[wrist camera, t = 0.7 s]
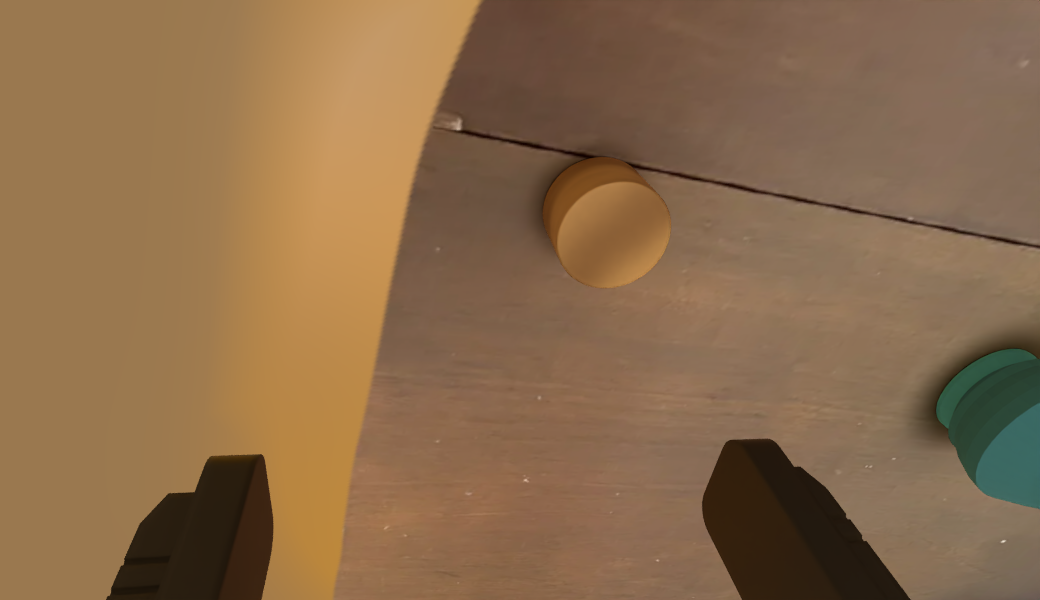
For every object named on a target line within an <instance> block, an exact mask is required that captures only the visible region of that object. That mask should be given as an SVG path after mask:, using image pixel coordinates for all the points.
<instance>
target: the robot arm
mask: <svg viewBox="0 0 1040 600" xmlns="http://www.w3.org/2000/svg"><path fill="white" fill-rule="evenodd" d="M702 511H703V518H704V522H705V525H706V528H707V530H708V533H709V535H710V536H711V538H712V540H713V542H714V544H715V546H716V548H717V550H718V552H719V554H720V556H721V558H722V560H723V562H724V564H725V566H726V568H727V570H728V572H729V574H730V576H731V578H732V580H733V582H734V584H735V586H736V588H737V590H738V592H739V594H740V596H741V598H742V600H910V598H909V597H908V596H907V594H906V593H905V592H904V590H903V589H902V588H901V586H900V585H899V584H898V582H897V581H896V580H895V578H894V577H893V576H892V574H891V573H890V572H889V570H888V569H887V568H886V566H885V565H884V564H883V562H882V561H881V560H880V558H879V557H878V556H877V554H876V553H875V552H874V550H873V549H872V548H871V546H870V545H869V544H868V542H867V541H863V540H862V535H861V533H860V532H859V531H858V529H857V528H856V527H855V525H854V524H853V523H852V521H851V520H850V519H847V518H846V513H845V512H844V511H843V509H842V508H841V507H840V505H839V504H838V503H837V501H836V500H835V499H834V497H833V496H832V495H831V493H830V492H829V491H828V489H827V488H826V487H824V486H823V485H822V484H821V483H820V482H818V481H817V480H816V479H815V478H813V477H812V476H811V475H810V474H809V473H807V472H806V471H805V470H804V469H802V468H801V467H794V466H793V465H792V463H791V462H790V461H789V459H788V458H787V456H786V455H785V454H784V452H783V451H782V450H781V448H780V447H779V446H778V444H777V443H775V442H774V441H773V440H771V439H743V440H729V441H728V442H726V443H725V445H724V447H723V449H722V451H721V454H720V456H719V458H718V461H717V463H716V466H715V468H714V471H713V473H712V476H711V478H710V480H709V483H708V485H707V488H706V490H705V493H704V496H703V501H702ZM272 542H273V514H272V507H271V500H270V493H269V486H268V479H267V472H266V465H265V460H264V457H263V455H261V454H260V455H229V456H211V457H210V458H209V459H208V460H207V462H206V464H205V466H204V469H203V471H202V474H201V477H200V479H199V482H198V485H197V487H196V490H195V492H193V493H172V494H171V493H169V494H168V495H167V496H166V497H165V498H164V499H163V500H162V501H161V502H160V503H159V504H158V505H157V506H156V507H155V508H154V509H153V510H152V512H151V513H150V514H149V515H148V516H147V517H146V518H145V519H144V520H143V521H142V522H141V523H140V525H139V527H138V529H137V531H136V534H135V536H134V538H133V540H132V543H131V545H130V547H129V549H128V552H127V554H126V556H125V558H124V560H125V561H124V565H123V566H121V567H120V570H119V572H118V574H117V576H116V579H115V581H114V583H113V586H112V588H111V594H110V596H108V597H107V599H106V600H261V599H262V594H263V589H264V585H265V580H266V575H267V571H268V566H269V561H270V556H271V550H272Z"/></svg>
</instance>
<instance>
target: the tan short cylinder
mask: <svg viewBox="0 0 1040 600" xmlns="http://www.w3.org/2000/svg"><path fill="white" fill-rule="evenodd" d="M543 222H544V227H545V229H546V232H547V234H548V236H549V239H550V241H551V243H552V245H553V247H554V249H555V251H556V254H557V256H558V258H559V260H560V262H561V264H562V266H563V268H564V269H565V270H566V272H567V273H568V274H569V275H570V276H571V277H573V278H574V279H575V280H577V281H579V282H581V283H583V284H585V285H588V286H591V287H596V288H613V287H619V286H622V285H626V284H628V283H631V282H633V281H635V280H637V279H639V278H640V277H642V276H643V275H645V274H646V273H647V272H648V271H649V270H651V269H652V268H653V267H654V266H655V264H656V263H657V262H658V261H659V259H660V258H661V256H662V255H663V253H664V251H665V249H666V247H667V244H668V241H669V238H670V233H671V219H670V214H669V211H668V208H667V206H666V204H665V202H664V201H663V199H662V198H661V197H660V196H659V195H658V193H657V192H656V191H655V190H654V189H653V188H652V187H651V186H650V185H649V184H648V183H647V182H646V181H645V180H644V179H643V178H642V177H641V176H640V174H639V173H638V172H637V171H636V170H635V169H634V168H632V167H631V166H630V165H628V164H627V163H625V162H623V161H621V160H618V159H615V158H610V157H595V158H589V159H586V160H583V161H580V162H578V163H576V164H574V165H572V166H570V167H569V168H568V169H566V170H565V171H564V172H563V173H561V174H560V175H559V176H558V177H557V179H556V180H555V181H554V182H553V184H552V185H551V187H550V189H549V191H548V193H547V195H546V198H545V201H544V206H543Z"/></svg>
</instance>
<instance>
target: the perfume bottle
mask: <svg viewBox="0 0 1040 600" xmlns="http://www.w3.org/2000/svg"><path fill="white" fill-rule="evenodd" d="M936 414H937V418H938V420H939V421H940V422H941V423H942V424H943V425H944V426H945V427H946V428H948V434H949V439H950V441H951V443H952V444H953V445H954V446H955V447H956V450H957V454H958V457H959V459H960V461H961V463H962V465H963V467H964V469H965V471H966V472H967V474H968V476H969V478H970V479H971V480H972V481H973V482H974V483H975V485H976V486H977V487H978V488H979V489H980V490H981V491H982V492H983V493H984V494H986V495H988V496H991V497H994V498H997V499H1001V500H1005V501H1008V502H1012V503H1016V504H1020V505H1024V506H1028V507H1033V508H1038V509H1040V359H1037V358H1036V357H1035V356H1034V355H1033V354H1031V353H1029V352H1028V351H1026V350H1022V349H1006V350H1001V351H997V352H994V353H991V354H989V355H986V356H984V357H982V358H980V359H978V360H977V361H975V362H973V363H972V364H970V365H969V366H967V367H966V368H965V369H963V370H962V371H961V372H959V373H958V374H957V375H956V376H955V377H954V378H953V379H952V380H951V381H950V382H949V384H948V385H947V386H946V387H945V389H944V390H943V392H942V394H941V395H940V398H939V400H938V402H937V407H936Z"/></svg>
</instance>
